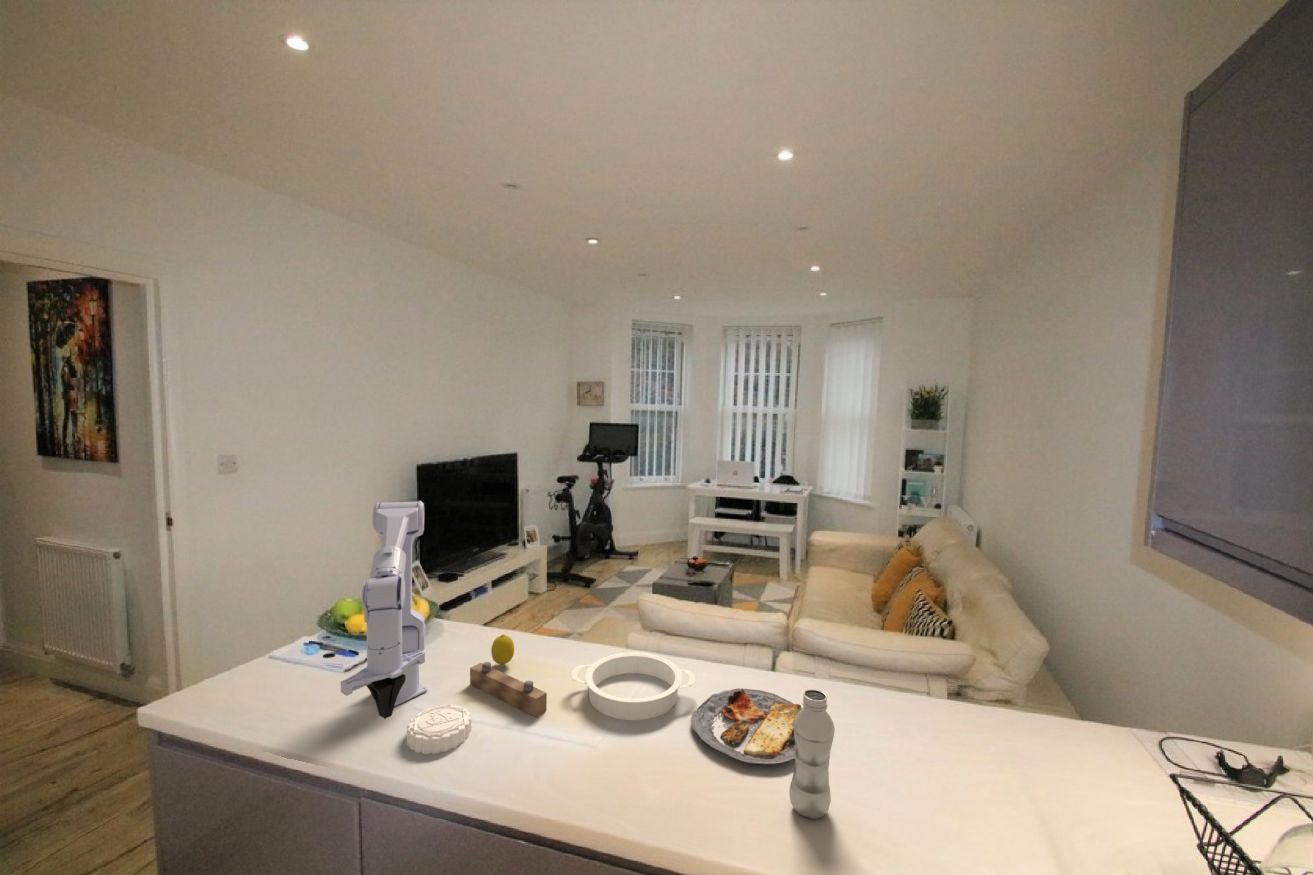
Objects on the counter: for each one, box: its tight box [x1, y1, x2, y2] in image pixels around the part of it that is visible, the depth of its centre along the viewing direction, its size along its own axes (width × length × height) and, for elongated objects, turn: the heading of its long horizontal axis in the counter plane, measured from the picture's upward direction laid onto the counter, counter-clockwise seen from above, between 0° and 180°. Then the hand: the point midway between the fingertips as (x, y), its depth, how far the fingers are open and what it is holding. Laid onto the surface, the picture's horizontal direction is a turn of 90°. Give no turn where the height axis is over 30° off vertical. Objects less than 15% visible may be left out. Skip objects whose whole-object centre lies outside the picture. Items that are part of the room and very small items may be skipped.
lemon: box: [490, 633, 515, 667], centre depth 137 cm, size 6×6×8 cm
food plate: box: [690, 688, 803, 765], centre depth 113 cm, size 25×23×4 cm
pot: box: [570, 651, 696, 721], centre depth 125 cm, size 29×22×5 cm
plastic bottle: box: [788, 688, 836, 820], centre depth 90 cm, size 6×7×20 cm
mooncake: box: [406, 704, 472, 755], centre depth 109 cm, size 12×12×4 cm
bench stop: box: [469, 661, 548, 718], centre depth 123 cm, size 22×3×6 cm, turn 56°
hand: (385, 715), depth 99 cm, fingers closed
